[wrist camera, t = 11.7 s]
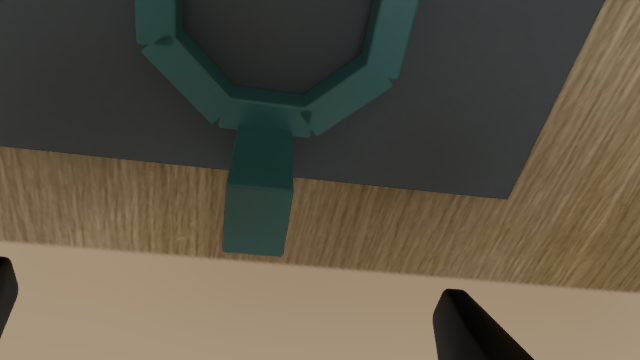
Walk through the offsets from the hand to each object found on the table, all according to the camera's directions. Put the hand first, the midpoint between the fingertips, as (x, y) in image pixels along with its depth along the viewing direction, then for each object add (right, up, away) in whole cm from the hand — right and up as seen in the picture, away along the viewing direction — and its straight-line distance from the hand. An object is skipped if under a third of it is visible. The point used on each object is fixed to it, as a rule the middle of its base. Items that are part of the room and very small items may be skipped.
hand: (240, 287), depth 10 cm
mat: (0, +6, +4) cm, 8 cm away
